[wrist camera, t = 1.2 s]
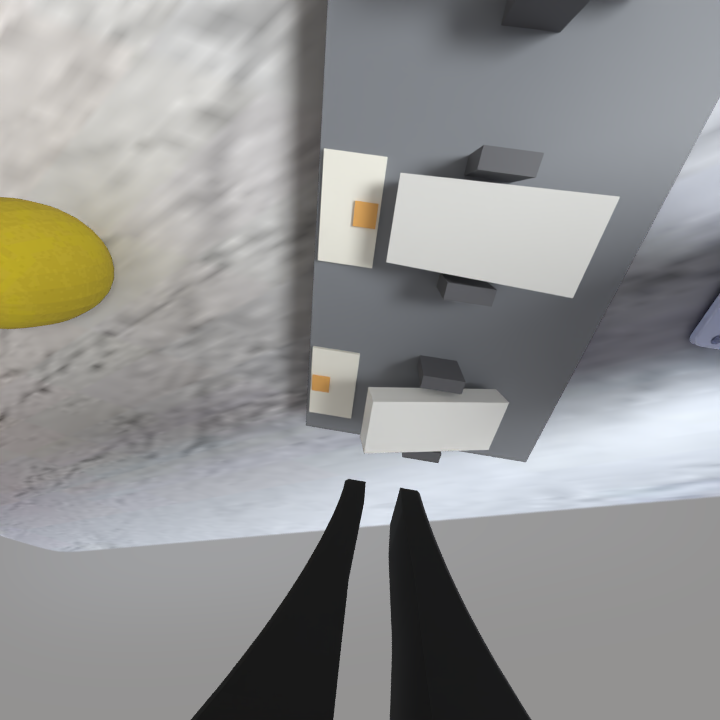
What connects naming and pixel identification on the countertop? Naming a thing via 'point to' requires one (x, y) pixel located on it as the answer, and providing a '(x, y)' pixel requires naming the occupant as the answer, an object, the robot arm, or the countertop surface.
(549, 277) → the switch mid
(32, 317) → the lemon
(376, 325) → the switch panel
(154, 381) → the countertop surface
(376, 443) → the switch
